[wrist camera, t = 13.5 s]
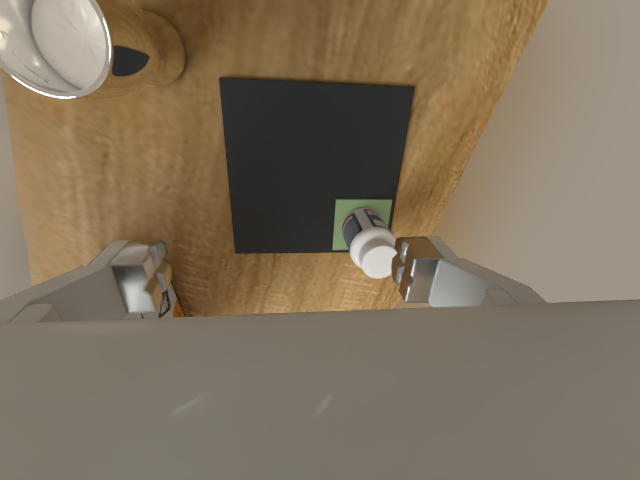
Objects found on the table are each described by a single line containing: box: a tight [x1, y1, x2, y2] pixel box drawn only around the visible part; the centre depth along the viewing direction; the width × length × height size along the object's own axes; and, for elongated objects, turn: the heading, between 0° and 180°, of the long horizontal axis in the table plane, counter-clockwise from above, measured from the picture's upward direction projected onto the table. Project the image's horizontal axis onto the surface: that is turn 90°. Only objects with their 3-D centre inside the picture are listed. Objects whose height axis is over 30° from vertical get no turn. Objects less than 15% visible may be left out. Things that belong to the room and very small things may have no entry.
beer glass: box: [0, 0, 185, 99], centre depth 23 cm, size 7×7×15 cm
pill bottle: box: [341, 208, 397, 278], centre depth 36 cm, size 5×5×9 cm
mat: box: [219, 78, 414, 253], centre depth 36 cm, size 20×20×1 cm
